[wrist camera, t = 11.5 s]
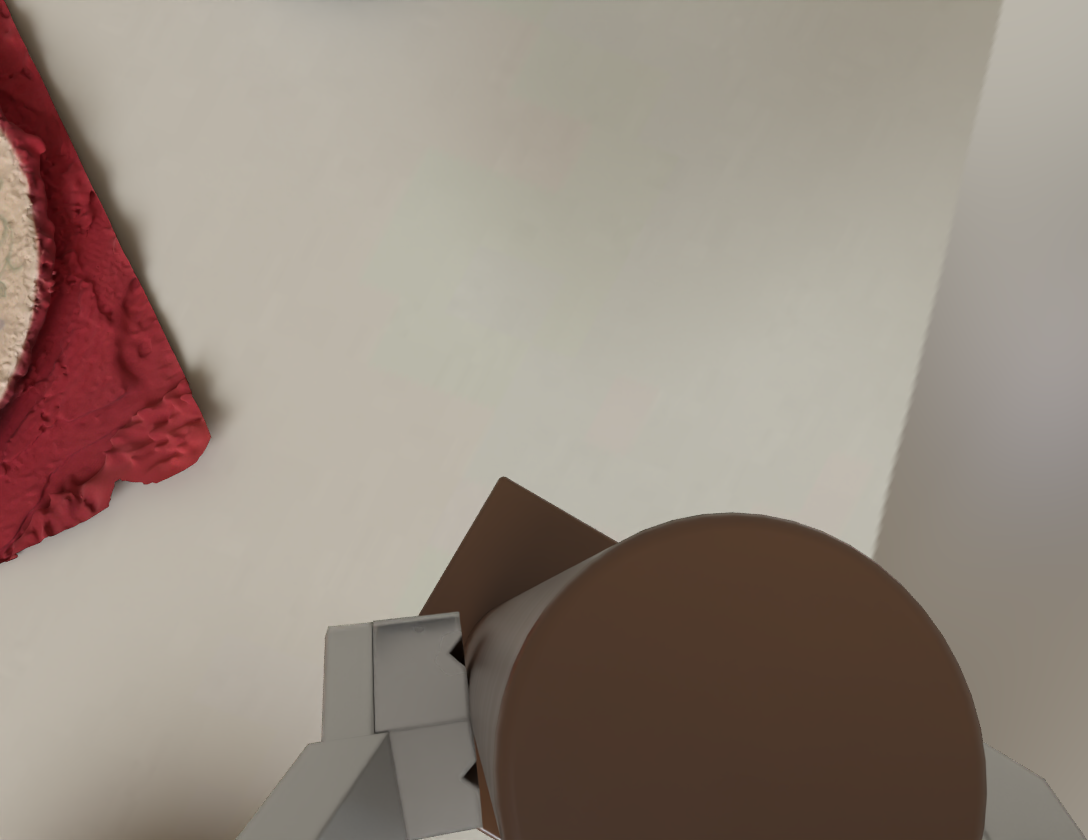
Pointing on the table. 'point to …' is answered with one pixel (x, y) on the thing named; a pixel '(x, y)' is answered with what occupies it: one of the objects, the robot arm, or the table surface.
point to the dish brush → (704, 684)
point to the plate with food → (72, 333)
